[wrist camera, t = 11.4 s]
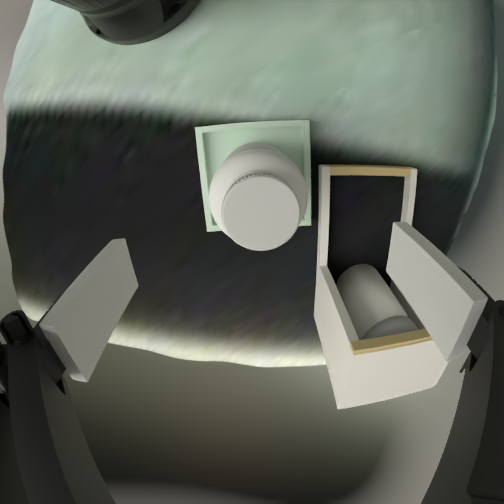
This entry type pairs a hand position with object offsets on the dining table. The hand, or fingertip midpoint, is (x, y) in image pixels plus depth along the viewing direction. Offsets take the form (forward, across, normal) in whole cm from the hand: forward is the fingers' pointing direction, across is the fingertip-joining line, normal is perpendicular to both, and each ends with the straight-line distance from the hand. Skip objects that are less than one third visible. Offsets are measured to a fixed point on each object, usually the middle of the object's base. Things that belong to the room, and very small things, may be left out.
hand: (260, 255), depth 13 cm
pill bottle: (+21, 0, 0) cm, 21 cm away
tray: (+21, 0, 0) cm, 21 cm away
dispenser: (+21, +14, -11) cm, 28 cm away
